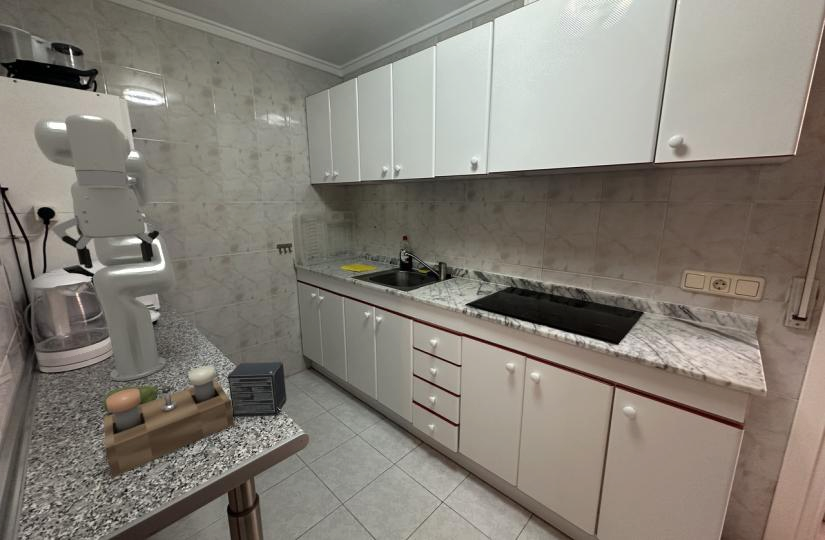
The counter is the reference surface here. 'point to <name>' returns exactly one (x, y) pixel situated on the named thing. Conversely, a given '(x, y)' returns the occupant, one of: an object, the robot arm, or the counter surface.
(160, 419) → the wooden condiment caddy
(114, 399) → the knob terracotta
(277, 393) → the small box
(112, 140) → the robot arm
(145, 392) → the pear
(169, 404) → the pot stem
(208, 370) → the knob cream
